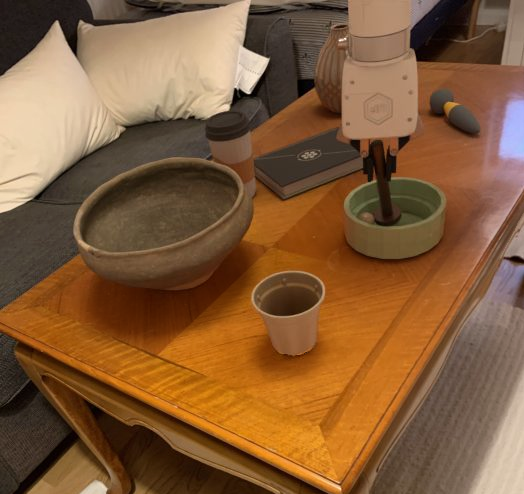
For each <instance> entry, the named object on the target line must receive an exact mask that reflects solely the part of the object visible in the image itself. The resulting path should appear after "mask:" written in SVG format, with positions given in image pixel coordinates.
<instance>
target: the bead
mask: <svg viewBox="0 0 524 494" xmlns="http://www.w3.org/2000/svg"><path fill="white" fill-rule="evenodd" d="M358 219H359V220H361V221H364V222H366V223H369V224H373V225H374V224H375V219H374V216H373V215H372V214H370V213H367V212H365V213H362V214H360V215H359V216H358Z"/></svg>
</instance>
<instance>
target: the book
mask: <svg viewBox="0 0 524 494" xmlns="http://www.w3.org/2000/svg"><path fill="white" fill-rule="evenodd" d="M339 127H340V126H337V127H334V128H331V129H328V130H325V131H323V132H320V133H317V134H314V135H311V136H309V137H307V138H304V139H301V140H298V141H296V142H292V143H290V144H288V145H285V146H282V147H280V148H277V149H274V150H272V151H269V152H266V153H263V154H261V155H258V156H255V157H253V160H254V170H255V178H257V179H258V180H259V181H260V182H261V183H263V184H264V185H265V186H266V187H268V189H270V190H271V192H273V193H275V194H276V195H277V196H278V197H279V198H281V199H282V200H283V201H286V200H288V199H291V198H293V197H295V196H298V195H301V194H303V193H306V192H308V191H311V190H314V189H316V188H318V187H321V186H323V185H326V184H328V183H331V182H333V181H336V180H340V179H341V178H344V177H346V176H349V175H351V174H354V173H356V172H359V171H362V170H363V157H362V156H361V155H360V153H359V152H358V151H357V150H356V149H355V148H354V147H352V146H351V145H350V144H347V143H344V142H341V141H338V140H337V138H336V136H337V133H338V130H339Z"/></svg>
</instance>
